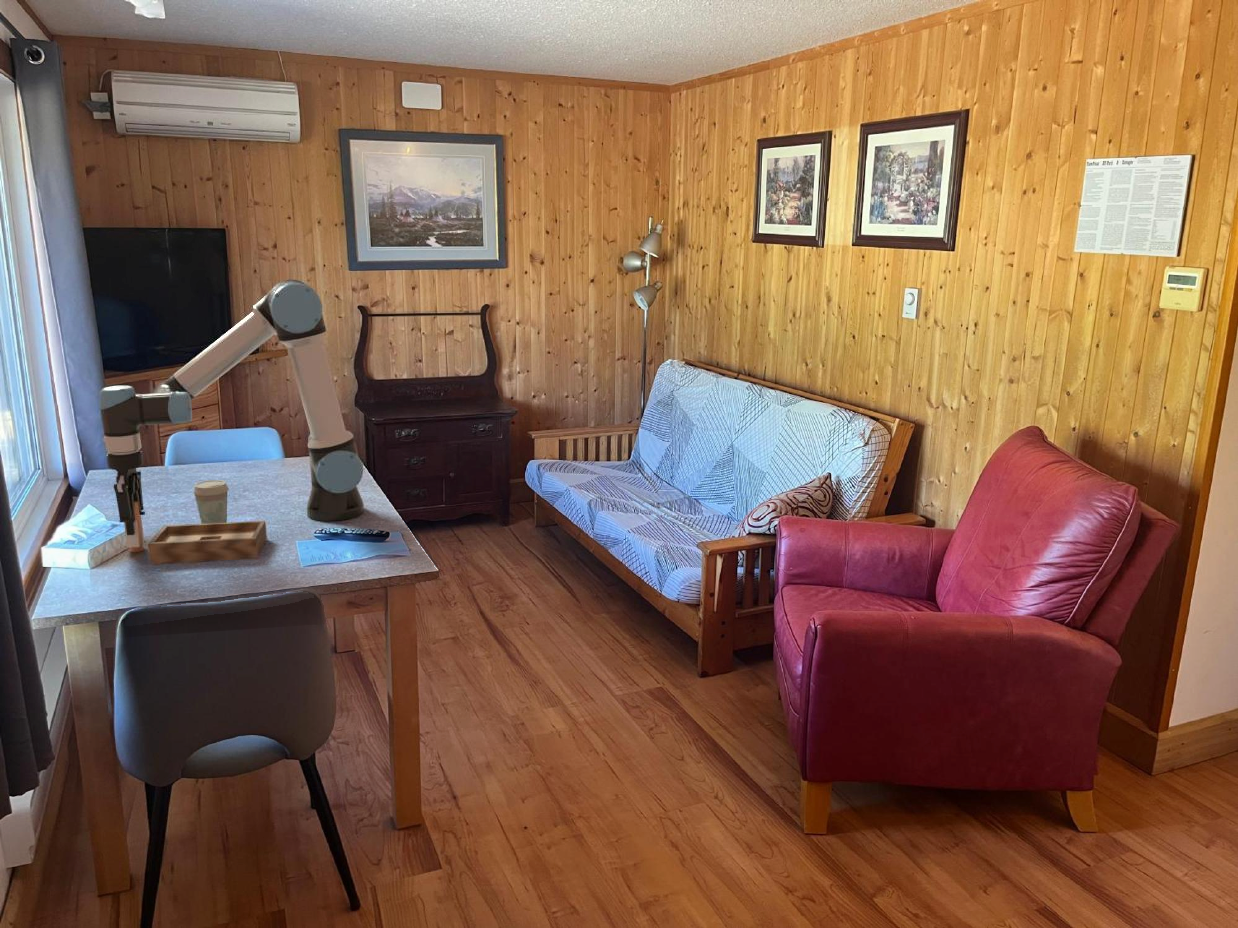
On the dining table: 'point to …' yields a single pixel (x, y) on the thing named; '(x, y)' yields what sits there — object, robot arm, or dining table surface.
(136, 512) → the peg
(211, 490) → the coffee cup
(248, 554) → the crate
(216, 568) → the dining table surface
